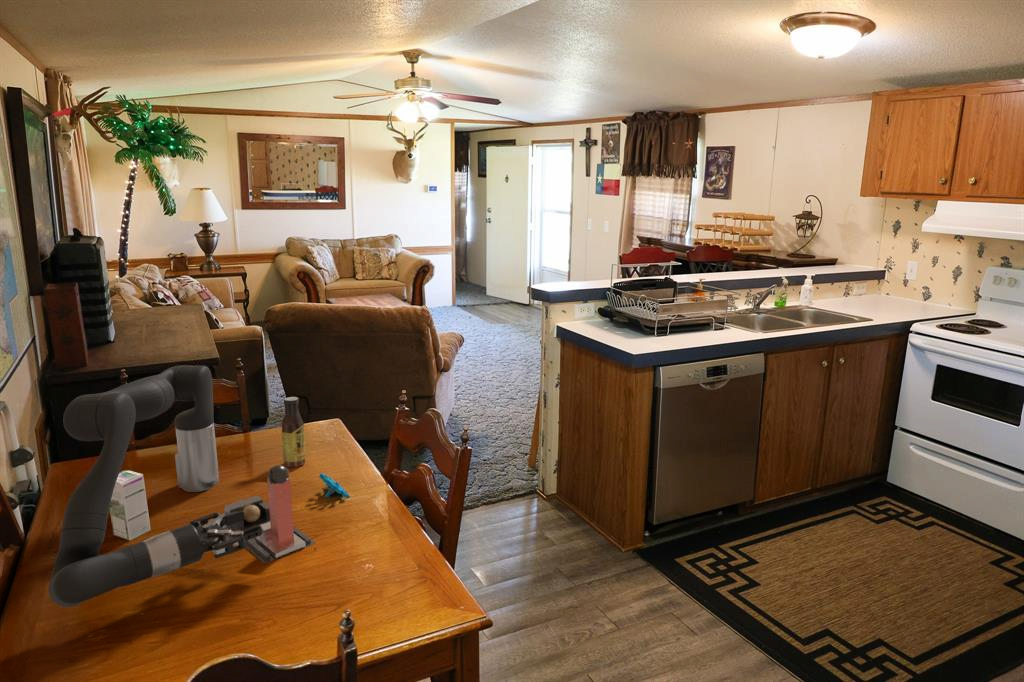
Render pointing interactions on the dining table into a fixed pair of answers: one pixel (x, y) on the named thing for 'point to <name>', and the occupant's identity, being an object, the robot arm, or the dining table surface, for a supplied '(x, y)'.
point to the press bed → (262, 519)
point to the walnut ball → (251, 513)
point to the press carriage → (279, 516)
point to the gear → (333, 486)
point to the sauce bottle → (293, 434)
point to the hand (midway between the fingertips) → (252, 522)
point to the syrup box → (129, 506)
